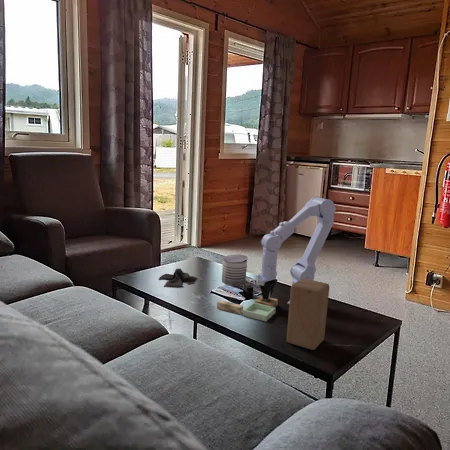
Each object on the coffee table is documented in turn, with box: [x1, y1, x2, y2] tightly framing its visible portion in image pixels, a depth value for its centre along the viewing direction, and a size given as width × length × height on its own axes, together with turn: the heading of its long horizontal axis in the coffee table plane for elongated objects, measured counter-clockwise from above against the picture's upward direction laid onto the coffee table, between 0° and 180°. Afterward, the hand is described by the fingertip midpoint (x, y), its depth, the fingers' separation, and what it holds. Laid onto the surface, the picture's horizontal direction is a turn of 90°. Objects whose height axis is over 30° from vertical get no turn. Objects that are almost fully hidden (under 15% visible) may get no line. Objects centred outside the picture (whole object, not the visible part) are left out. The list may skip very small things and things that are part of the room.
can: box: [221, 253, 248, 287], centre depth 192 cm, size 11×11×12 cm
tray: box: [242, 301, 277, 322], centre depth 158 cm, size 9×9×2 cm
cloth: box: [157, 268, 199, 289], centre depth 192 cm, size 22×19×6 cm
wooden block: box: [286, 278, 330, 351], centre depth 136 cm, size 10×10×20 cm
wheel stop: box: [216, 299, 244, 315], centre depth 160 cm, size 10×2×3 cm, turn 63°
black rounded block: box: [237, 284, 259, 301], centre depth 177 cm, size 12×7×5 cm, turn 20°
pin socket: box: [254, 295, 279, 308], centre depth 167 cm, size 7×7×2 cm
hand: (266, 297), depth 166 cm, fingers closed on pin, 2 cm apart
